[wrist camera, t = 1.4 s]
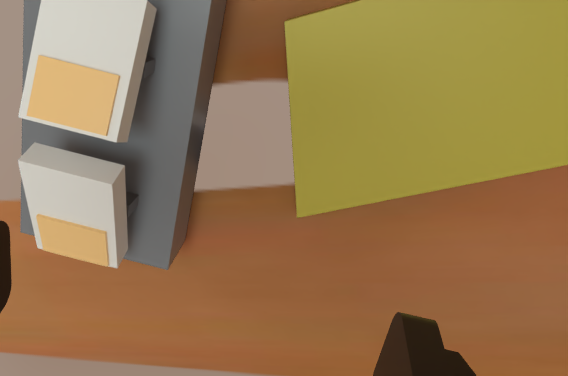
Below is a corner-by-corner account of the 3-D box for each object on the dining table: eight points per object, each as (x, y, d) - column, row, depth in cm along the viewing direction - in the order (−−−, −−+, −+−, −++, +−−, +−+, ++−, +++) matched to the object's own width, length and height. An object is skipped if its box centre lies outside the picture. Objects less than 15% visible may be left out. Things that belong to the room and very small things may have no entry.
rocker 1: (62, -16, 25) (44, -28, 24) (156, 8, 25) (146, -1, 24) (34, 118, 26) (15, 117, 24) (127, 142, 26) (114, 142, 24)
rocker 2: (34, 142, 27) (15, 162, 25) (124, 165, 27) (110, 187, 25) (51, 229, 31) (35, 250, 30) (127, 249, 31) (116, 271, 30)
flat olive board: (685, -92, 26) (250, 29, 31) (714, -98, 24) (244, 32, 29) (680, 127, 30) (299, 204, 35) (704, 137, 28) (296, 217, 33)
